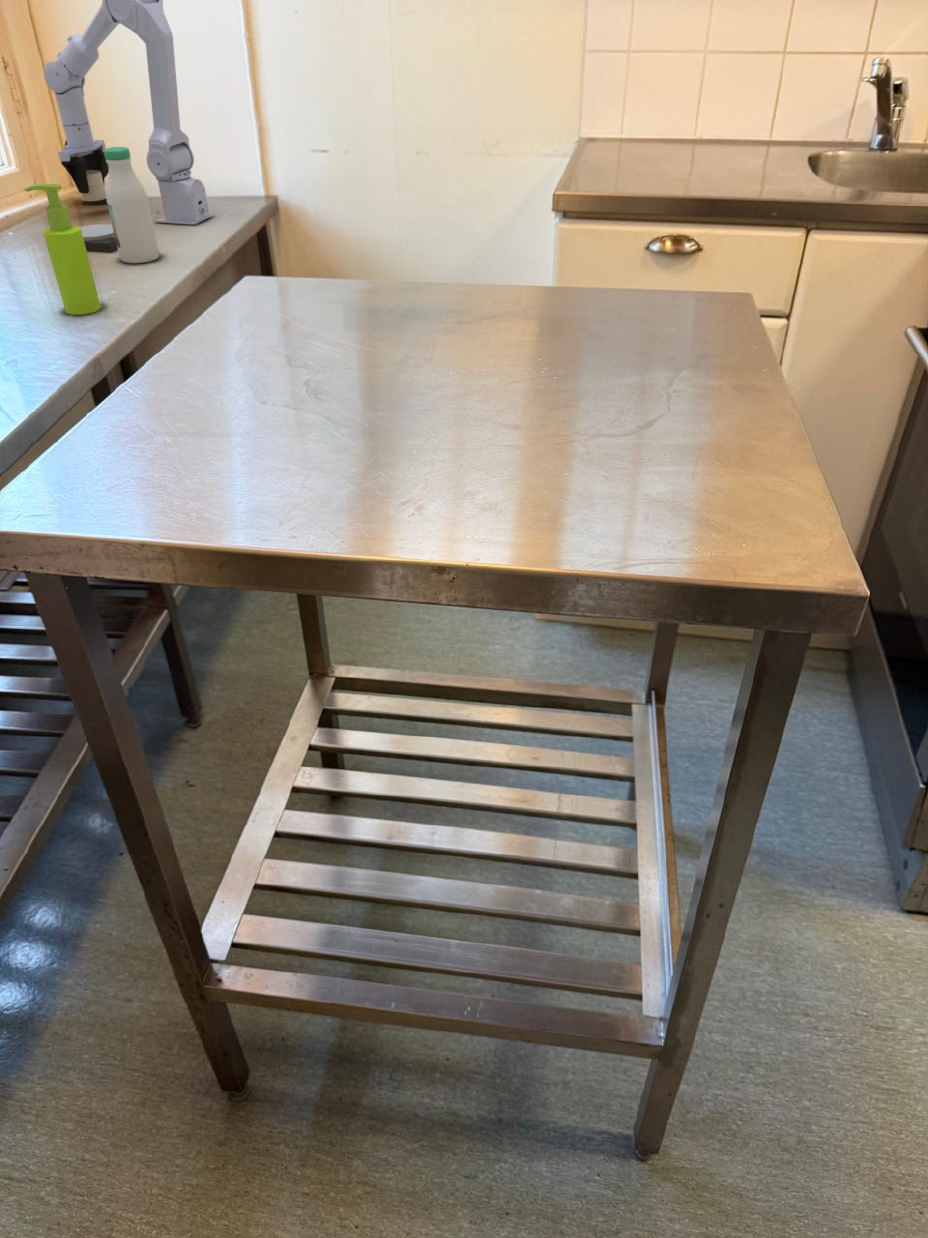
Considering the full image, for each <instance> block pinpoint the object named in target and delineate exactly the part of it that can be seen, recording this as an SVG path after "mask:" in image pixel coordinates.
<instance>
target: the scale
mask: <svg viewBox="0 0 928 1238" xmlns="http://www.w3.org/2000/svg"><path fill="white" fill-rule="evenodd" d="M79 227H80V228H81V231H82V235H83V239H84V243H85V247H86V251H87V252H96V253H98V252H99V253H110V254H111V253H113V252H116V251H118V248H117V244H116V240H115V235H114V231H113V227H112V224H92V225H89V224H88V225H83V226H79Z"/></svg>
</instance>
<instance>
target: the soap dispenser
mask: <svg viewBox="0 0 928 1238" xmlns="http://www.w3.org/2000/svg"><path fill="white" fill-rule="evenodd" d="M61 189H62V184H60V183H49V182H47V183H44V182H42V183H36V184H32V185H30V186H28V187H26V188H24V191H25V192H26V193H29V192H32V191H45V192H46V197H47V200H48V205H47V206H46V207H44V211H45V214H46V217H47V221H48V224H49V228H47V229H44V230H43V236H44V240H45V243H46V244H45V245H46V247H47V251H48V254H49V258H50V262H51V265H52V268H53V273H54V276H55V279H56V283H57V286H58V289H59V290H58V291H59V293H60V297H61V301H62V305H63V307H64V311H65V313H66V314H68V315H72V316H83V315H90V314H93V313H97V312H98V311H100V310H101V308H102V305H101V302H100V298H99V293H98V290H97V286H96V281H95V278H94V274H93V271H92V266H91V263H90V259H89V255H88V251H86V247H85V243H84V239H83V235H82V231H81V228H80V227H81V226H76V225H72V221H71V217H70V213H69V209H68V206H67V205H65V204H63V203H61V200H60V196H59V193H58V191H60V190H61Z"/></svg>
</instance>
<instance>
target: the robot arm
mask: <svg viewBox="0 0 928 1238" xmlns="http://www.w3.org/2000/svg"><path fill="white" fill-rule="evenodd" d="M120 24H121V25H122V26H124V27H125V28H127V29H128V30H130V31H131V32H133V33H134V34H135V35H137V36H138V38H140V40H142V42H143V43H144V44H145V50H146V51H145V52H146V62H147V73H148V81H149V91H150V102H151V112H152V122H153V124H152V125H153V129H152V132H151V134H150V136H149V139H148V151H147V154H146V165H147V167H148V169H149V171H150V173H151V174H152V175H153V176H154V177H155V180H156V181H157V183H158V189H159V193H160V199H161V203H162V208H163V214H164V216H163V217H162V218H160V219H158V220H157V222H158V223H163V224H174V225H175V224H178V225H191V226H192V225H193V226H194V225H195V226H196V225H197V224H199V223H201V222H203V221H205V220H207V219H210V218H212V214H210V211H209V205H208V200H207V194H206V189H205V186H204V184H203V182H202V180H200V179H198V178H194V177H193V176H191V175H192V168H193V167H194V163H195V157H194V153H193V150H192V148H191V146H190V139H189V136H188V134H186V133H185V132H184V131H183V130H182V129H181V119H180V109H179V96H178V95H179V94H178V82H177V70H176V60H175V59H176V58H175V57H176V56H175V44H174V36H173V32H172V29H171V27H170V24H169V22H168V20H167V17H166V14H165V11H164V0H102V1H101V4H100V6H99V8H98V9H97V11H96V13H95V14H94V16H93V17H92V19H91V20H90V22H89V24H88V26H87V27H86V29H85V31H84V32H83V34H81V33H80V34H79V33H76V34H73V35H69V36H68V38H67V40H66V41H67V42H68V43H67V44H66V46H65V47H64V48H63V50H62V51H60V52H58V53H57V55H56V57H57V58H56V60H52V61H47V62H46V63H45V66H44V69H43V78H44V81H45V83H46V85H47V86H48V88H49V89H50V90H51V91H52V92H53V93H54V97H55V100H56V101H55V102H56V104H57V110H58V113H59V116H60V121H61V124H62V129H63V132H64V135H65V141H66V140H67V144H68V145H66V146H65V145H64V146H65V148H63V149H61V150H59V151H57V152H58V158H59V162H60V163H61V166H62V167H63V168H64V169H65V170H66V172H67V173H68V174H69V176H70V177H71V179H72V181H73V183H74V185H75V186H76V188H77V190H78V192H79V194H80V193H89V187H88V181H87V174H86V166H87V165H88V168H89V170H98V171H101V175H102V179H103V183H104V184H105V178H104V173H105V164H106V158H105V155H104V150H105V149H107V147H106V144H105V140H104V139H95V140H94V136H93V132H92V128H91V124H90V120H89V116H88V111H87V107H86V102H85V92H84V87H85V84H86V76H87V74H89V71H90V70H91V69H92V67H93V66H94V65H95V64H96V62H97V61H98V60H99V57H100V53H99V49H98V48H100V46H101V45H102V44H103V43H104V42H105V40H106V39H107V38H109V36H110V35H111V33H112V32H113V31H114V30H115V29H116V28H117V27H118V26H119V25H120ZM101 150H103V152H101ZM81 156H83V158H84V160H80V159H79V158H78V157H81Z"/></svg>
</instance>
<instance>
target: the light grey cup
mask: <svg viewBox="0 0 928 1238" xmlns="http://www.w3.org/2000/svg"><path fill="white" fill-rule="evenodd" d="M86 174H87V181H88V187H89V193H80V192H79V195H80V198H81V201H84V202H85V201H98V200H103V199H105V198H106V188H105V187H106V186H105V182H104V183H103V179H102V175H101V171H98V170H86Z"/></svg>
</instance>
